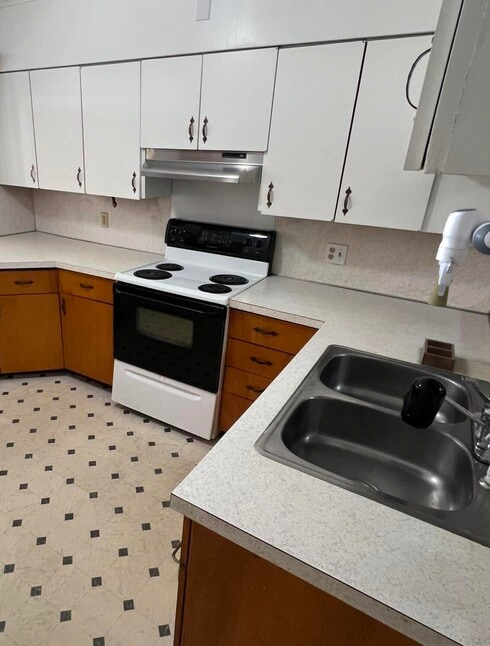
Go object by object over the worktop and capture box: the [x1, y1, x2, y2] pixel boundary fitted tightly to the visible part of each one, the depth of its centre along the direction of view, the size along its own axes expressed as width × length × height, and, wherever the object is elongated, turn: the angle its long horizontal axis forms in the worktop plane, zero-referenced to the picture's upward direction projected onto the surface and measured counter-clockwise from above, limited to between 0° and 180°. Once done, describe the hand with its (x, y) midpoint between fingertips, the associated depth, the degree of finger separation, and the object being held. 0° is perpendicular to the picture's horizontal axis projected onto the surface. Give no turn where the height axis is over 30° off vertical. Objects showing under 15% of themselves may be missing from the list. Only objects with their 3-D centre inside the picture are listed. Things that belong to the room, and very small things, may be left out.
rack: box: [420, 338, 456, 373], centre depth 149 cm, size 9×17×5 cm, turn 148°
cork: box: [427, 274, 454, 308], centre depth 155 cm, size 6×6×11 cm
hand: (440, 293), depth 155 cm, fingers closed on cork, 4 cm apart
